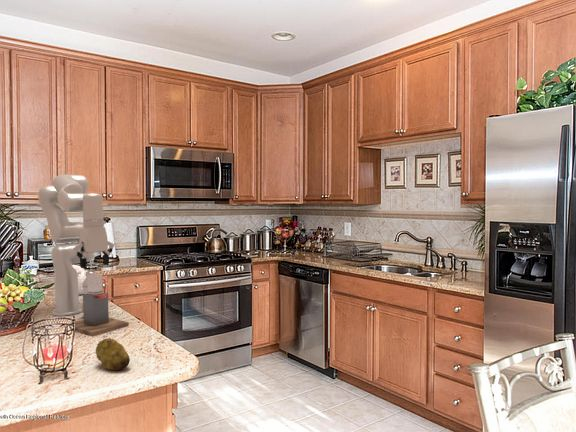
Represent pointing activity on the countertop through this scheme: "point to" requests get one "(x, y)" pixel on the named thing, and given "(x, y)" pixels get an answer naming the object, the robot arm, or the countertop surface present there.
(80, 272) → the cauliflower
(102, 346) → the potato
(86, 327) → the stand
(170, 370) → the countertop surface
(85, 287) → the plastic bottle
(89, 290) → the steel post
